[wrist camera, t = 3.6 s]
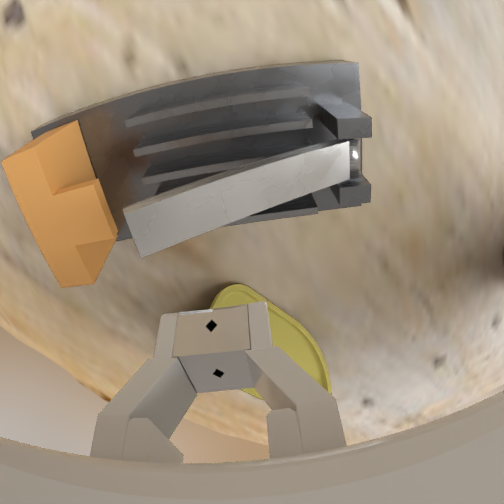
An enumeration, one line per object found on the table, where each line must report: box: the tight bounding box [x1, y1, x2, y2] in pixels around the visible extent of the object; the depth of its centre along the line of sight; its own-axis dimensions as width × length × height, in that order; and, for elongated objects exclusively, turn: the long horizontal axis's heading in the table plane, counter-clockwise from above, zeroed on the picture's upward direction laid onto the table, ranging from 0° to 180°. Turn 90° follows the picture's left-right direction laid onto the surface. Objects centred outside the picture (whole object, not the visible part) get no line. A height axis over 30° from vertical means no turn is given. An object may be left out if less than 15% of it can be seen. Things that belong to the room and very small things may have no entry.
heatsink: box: [31, 61, 372, 241], centre depth 21 cm, size 24×11×8 cm, turn 98°
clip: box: [1, 120, 118, 288], centre depth 19 cm, size 6×10×6 cm, turn 8°
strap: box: [122, 138, 360, 258], centre depth 16 cm, size 14×2×1 cm, turn 97°
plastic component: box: [209, 284, 332, 400], centre depth 37 cm, size 20×7×10 cm
